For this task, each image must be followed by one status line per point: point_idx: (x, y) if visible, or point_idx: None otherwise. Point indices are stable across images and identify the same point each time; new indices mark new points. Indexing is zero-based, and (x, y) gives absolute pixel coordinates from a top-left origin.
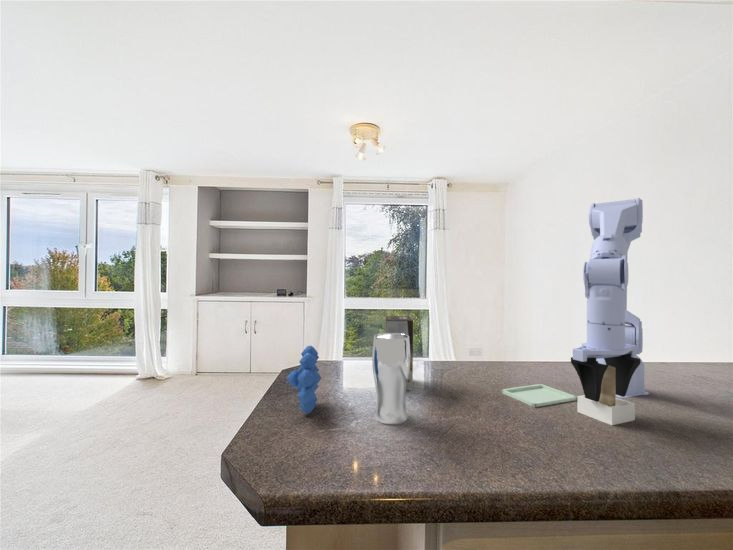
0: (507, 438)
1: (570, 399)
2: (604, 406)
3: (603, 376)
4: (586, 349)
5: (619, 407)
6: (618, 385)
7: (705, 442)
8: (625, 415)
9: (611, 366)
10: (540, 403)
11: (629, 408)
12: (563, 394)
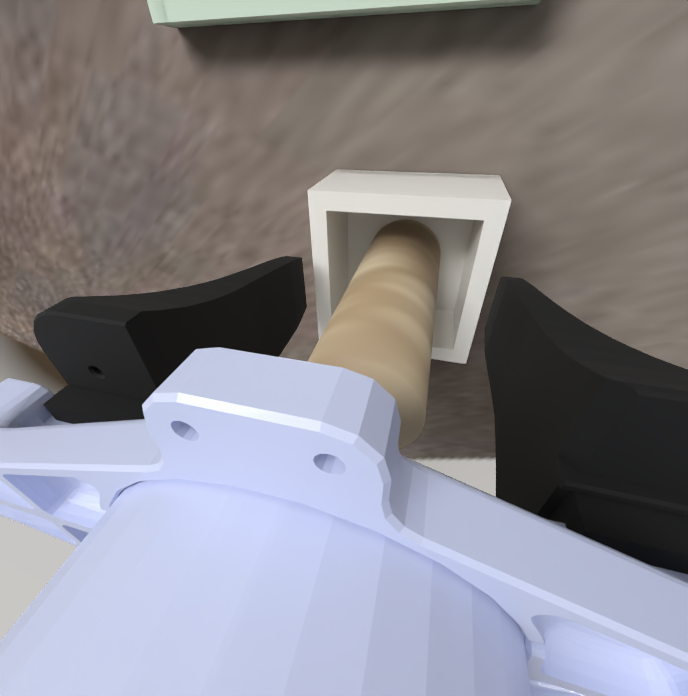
0: (13, 209)
1: (461, 2)
2: (317, 317)
3: None
4: (28, 508)
5: None
6: (500, 340)
7: (485, 436)
8: None
9: (409, 430)
10: (194, 19)
11: None
12: None
